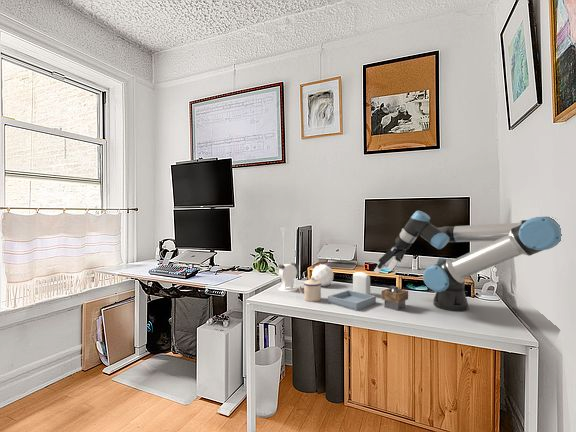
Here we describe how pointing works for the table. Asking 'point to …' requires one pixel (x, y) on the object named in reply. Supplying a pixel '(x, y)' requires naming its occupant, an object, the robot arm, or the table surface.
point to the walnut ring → (395, 295)
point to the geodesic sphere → (323, 274)
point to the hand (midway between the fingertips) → (382, 270)
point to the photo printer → (361, 283)
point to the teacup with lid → (311, 290)
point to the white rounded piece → (287, 277)
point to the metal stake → (393, 304)
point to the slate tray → (352, 300)
